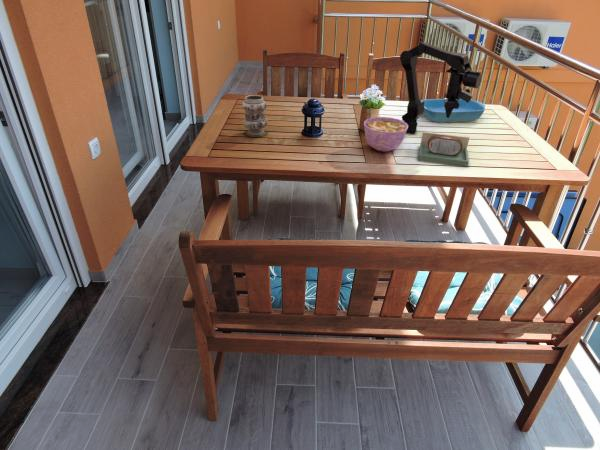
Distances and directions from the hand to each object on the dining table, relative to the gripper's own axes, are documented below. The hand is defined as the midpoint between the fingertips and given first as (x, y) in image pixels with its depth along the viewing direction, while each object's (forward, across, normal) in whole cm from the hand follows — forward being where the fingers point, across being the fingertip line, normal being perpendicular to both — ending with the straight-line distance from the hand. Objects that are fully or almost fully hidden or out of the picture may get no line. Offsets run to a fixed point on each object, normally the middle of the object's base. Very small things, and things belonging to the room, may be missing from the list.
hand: (447, 117), depth 197 cm
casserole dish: (+12, +38, -3) cm, 40 cm away
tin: (+11, -18, 0) cm, 21 cm away
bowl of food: (+12, -18, +27) cm, 35 cm away
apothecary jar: (+12, -20, +90) cm, 93 cm away
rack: (+12, -19, 0) cm, 22 cm away
